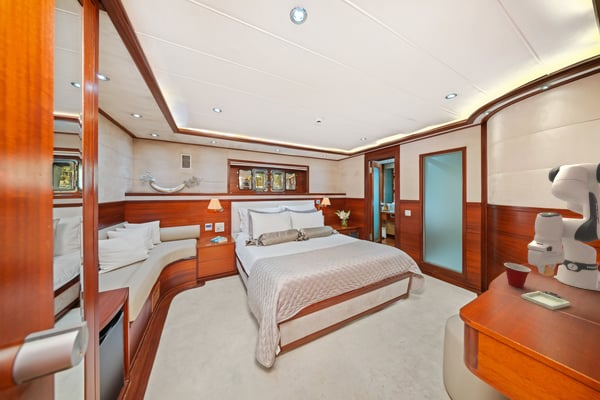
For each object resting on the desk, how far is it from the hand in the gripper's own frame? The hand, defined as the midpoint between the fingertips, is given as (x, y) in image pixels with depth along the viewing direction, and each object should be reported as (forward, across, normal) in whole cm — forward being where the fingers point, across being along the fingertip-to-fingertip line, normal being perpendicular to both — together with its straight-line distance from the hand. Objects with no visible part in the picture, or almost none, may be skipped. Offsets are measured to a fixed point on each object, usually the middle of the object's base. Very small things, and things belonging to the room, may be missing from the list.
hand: (546, 272), depth 99 cm
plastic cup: (+15, -8, -15) cm, 23 cm away
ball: (+2, 0, 0) cm, 2 cm away
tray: (+15, 0, 0) cm, 15 cm away
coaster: (+15, -12, -3) cm, 19 cm away
